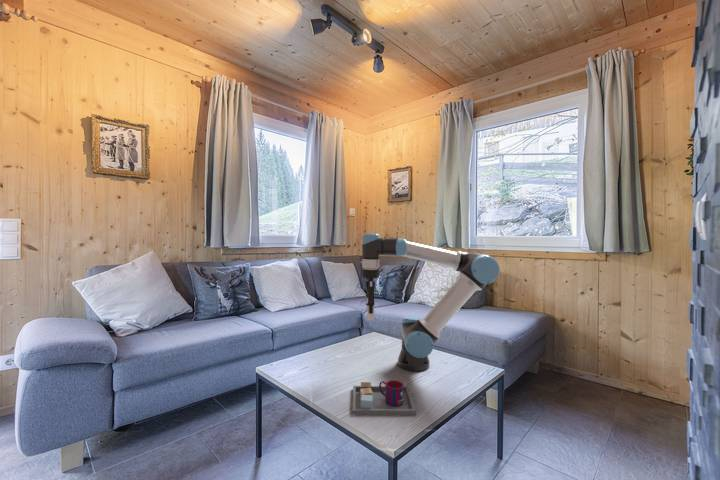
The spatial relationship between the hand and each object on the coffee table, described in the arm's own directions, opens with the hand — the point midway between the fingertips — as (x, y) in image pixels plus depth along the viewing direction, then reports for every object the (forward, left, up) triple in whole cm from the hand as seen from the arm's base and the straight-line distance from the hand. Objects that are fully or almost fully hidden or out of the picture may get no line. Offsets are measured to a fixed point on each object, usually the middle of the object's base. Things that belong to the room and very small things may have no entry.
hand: (369, 316), depth 145 cm
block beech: (+2, +23, -26) cm, 35 cm away
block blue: (+2, +28, -26) cm, 38 cm away
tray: (-4, +23, -27) cm, 35 cm away
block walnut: (+2, +18, -26) cm, 32 cm away
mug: (-7, +22, -26) cm, 35 cm away
